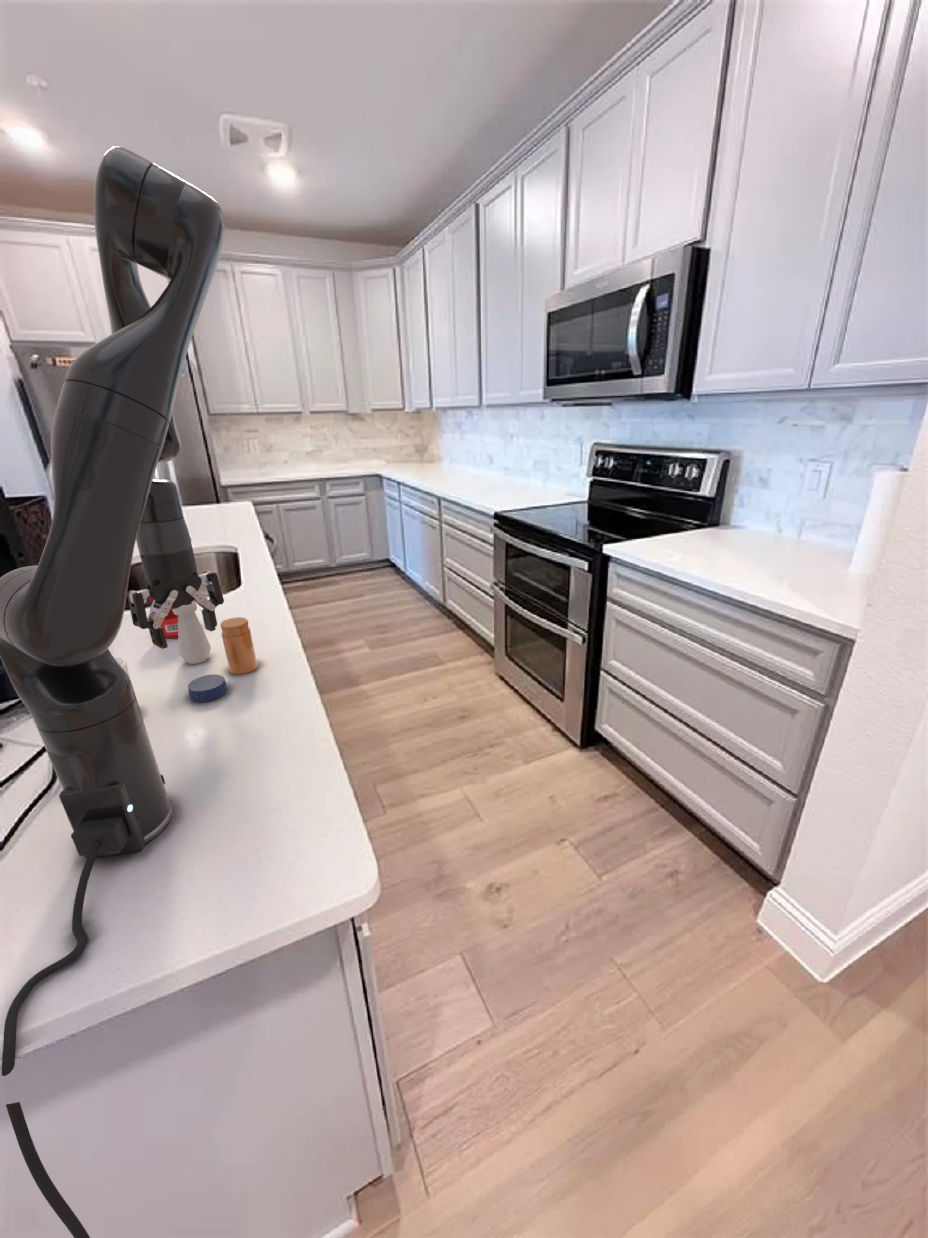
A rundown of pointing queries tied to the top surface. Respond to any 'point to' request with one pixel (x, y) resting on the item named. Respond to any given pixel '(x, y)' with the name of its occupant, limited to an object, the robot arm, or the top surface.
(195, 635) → the salt shaker
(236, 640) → the jar
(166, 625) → the canned food
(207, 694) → the lid
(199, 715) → the top surface
